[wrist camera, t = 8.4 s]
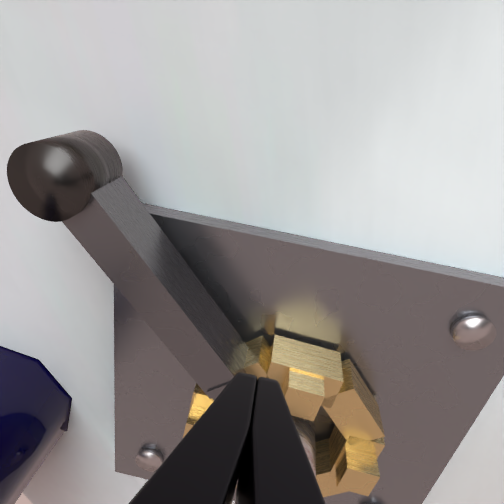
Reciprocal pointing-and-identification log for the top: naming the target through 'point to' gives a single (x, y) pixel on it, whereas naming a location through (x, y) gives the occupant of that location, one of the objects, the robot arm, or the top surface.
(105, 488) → the top surface
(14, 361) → the bottle
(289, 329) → the flange plate
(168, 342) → the lever handle
